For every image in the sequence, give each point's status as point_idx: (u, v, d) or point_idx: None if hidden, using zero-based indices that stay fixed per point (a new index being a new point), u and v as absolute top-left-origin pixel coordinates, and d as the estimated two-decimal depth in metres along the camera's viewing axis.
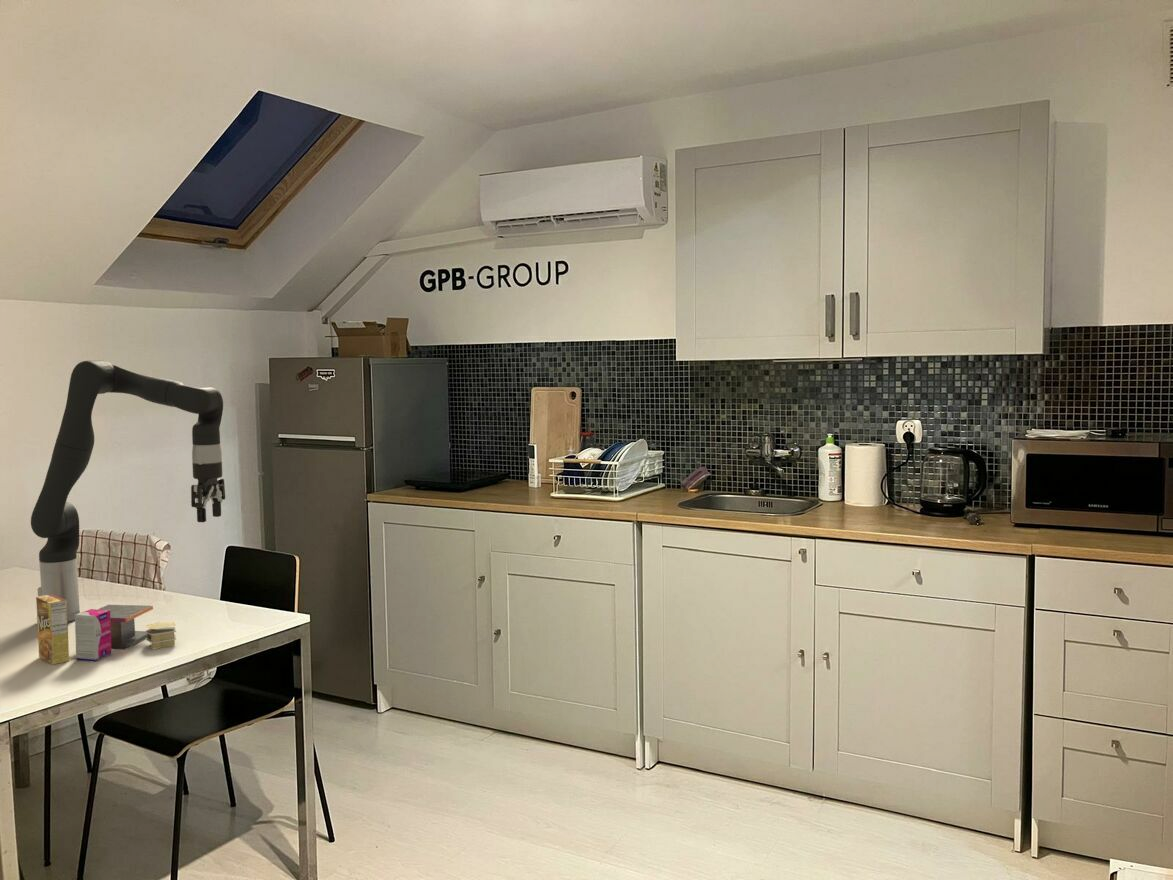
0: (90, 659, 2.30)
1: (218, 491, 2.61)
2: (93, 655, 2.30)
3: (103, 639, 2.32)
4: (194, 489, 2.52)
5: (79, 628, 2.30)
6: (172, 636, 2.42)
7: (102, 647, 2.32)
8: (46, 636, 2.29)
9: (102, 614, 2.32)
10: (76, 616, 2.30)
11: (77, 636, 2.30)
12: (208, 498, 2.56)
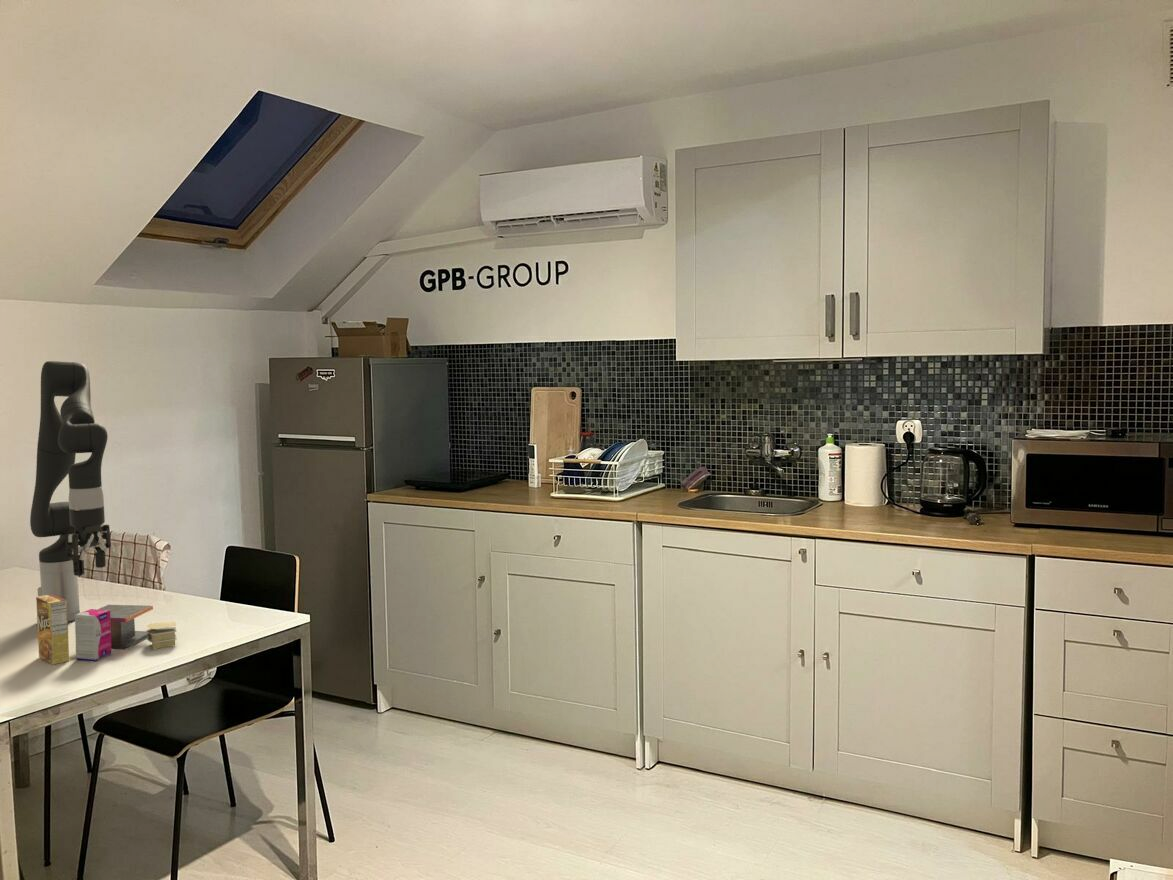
0: (90, 659, 2.30)
1: (100, 539, 2.33)
2: (93, 655, 2.30)
3: (103, 639, 2.32)
4: (69, 539, 2.24)
5: (79, 628, 2.30)
6: (173, 636, 2.42)
7: (102, 647, 2.32)
8: (46, 636, 2.29)
9: (102, 614, 2.32)
10: (76, 616, 2.30)
11: (77, 636, 2.30)
12: (86, 548, 2.27)
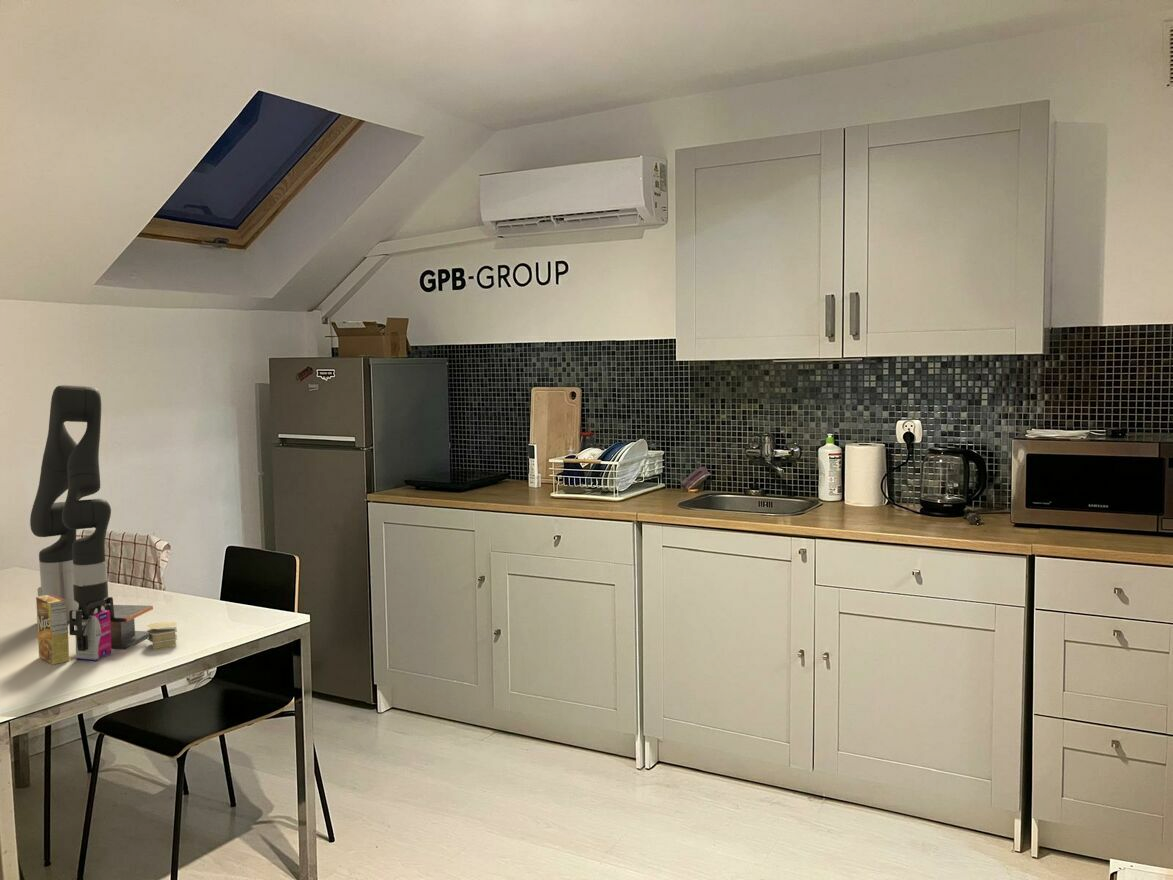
0: (90, 659, 2.30)
1: None
2: (93, 655, 2.30)
3: (103, 639, 2.32)
4: (72, 615, 2.25)
5: None
6: (173, 636, 2.42)
7: (102, 647, 2.32)
8: (46, 636, 2.29)
9: (102, 614, 2.32)
10: None
11: None
12: (90, 623, 2.29)
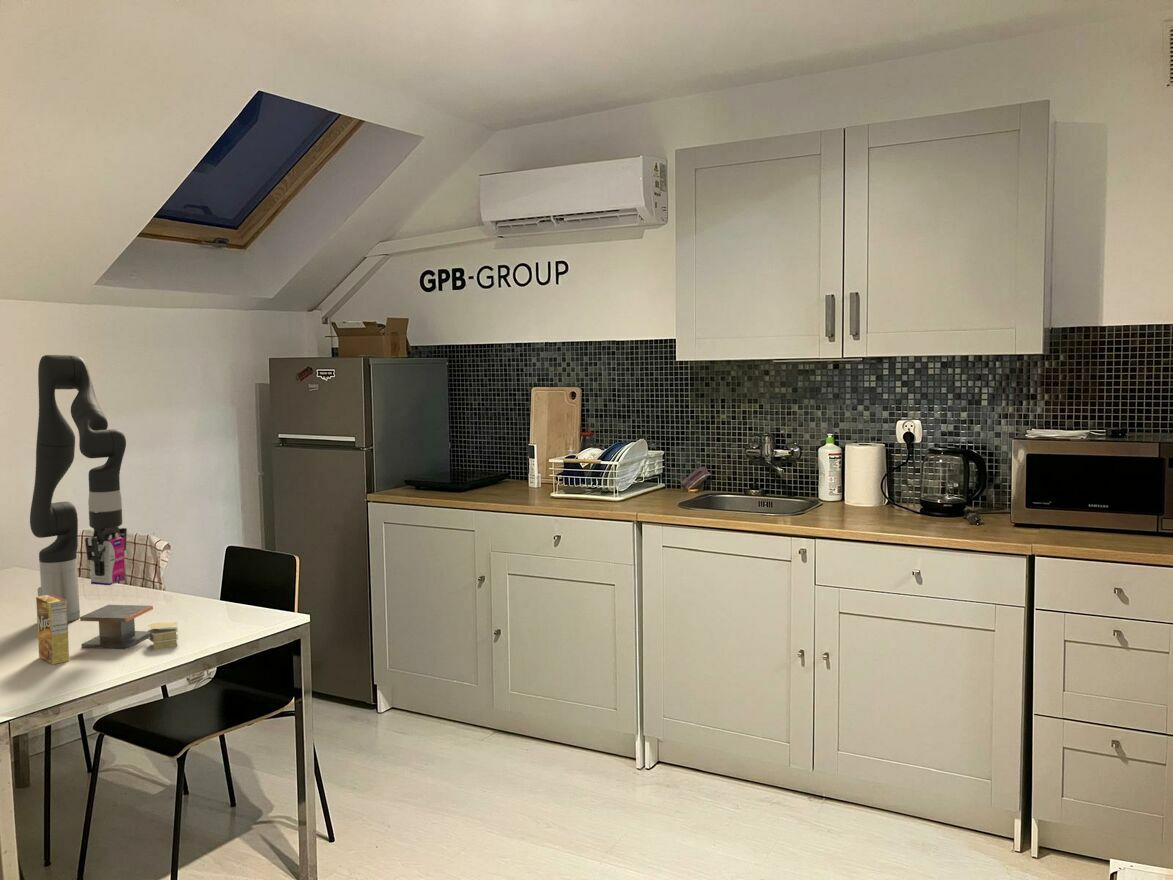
0: (104, 583, 2.39)
1: None
2: (108, 579, 2.39)
3: (117, 564, 2.41)
4: (88, 543, 2.35)
5: None
6: (174, 636, 2.42)
7: (116, 572, 2.41)
8: (46, 636, 2.29)
9: (116, 540, 2.41)
10: None
11: (92, 561, 2.40)
12: None
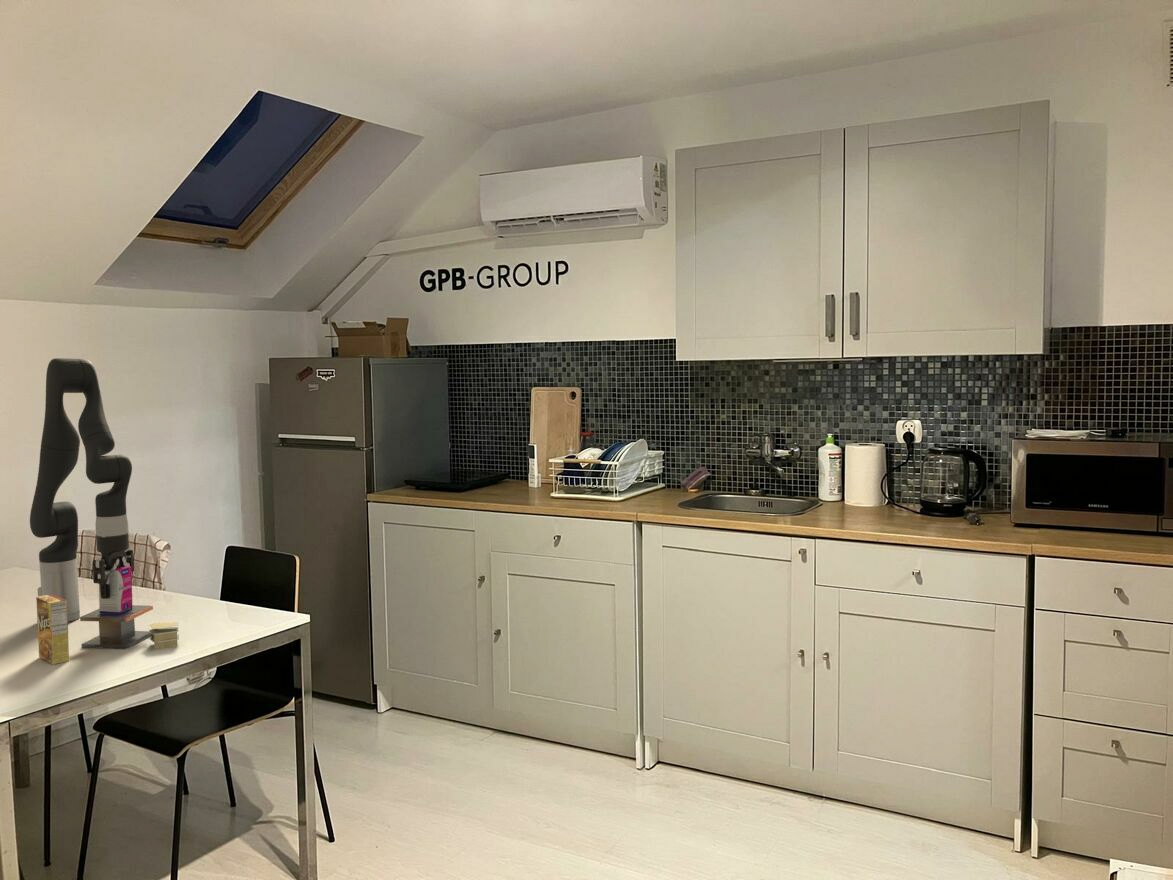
0: (113, 612, 2.43)
1: (125, 564, 2.46)
2: (116, 608, 2.42)
3: (125, 593, 2.45)
4: (96, 564, 2.37)
5: None
6: (175, 636, 2.42)
7: (124, 601, 2.45)
8: (46, 636, 2.29)
9: (124, 569, 2.44)
10: None
11: None
12: (112, 573, 2.41)
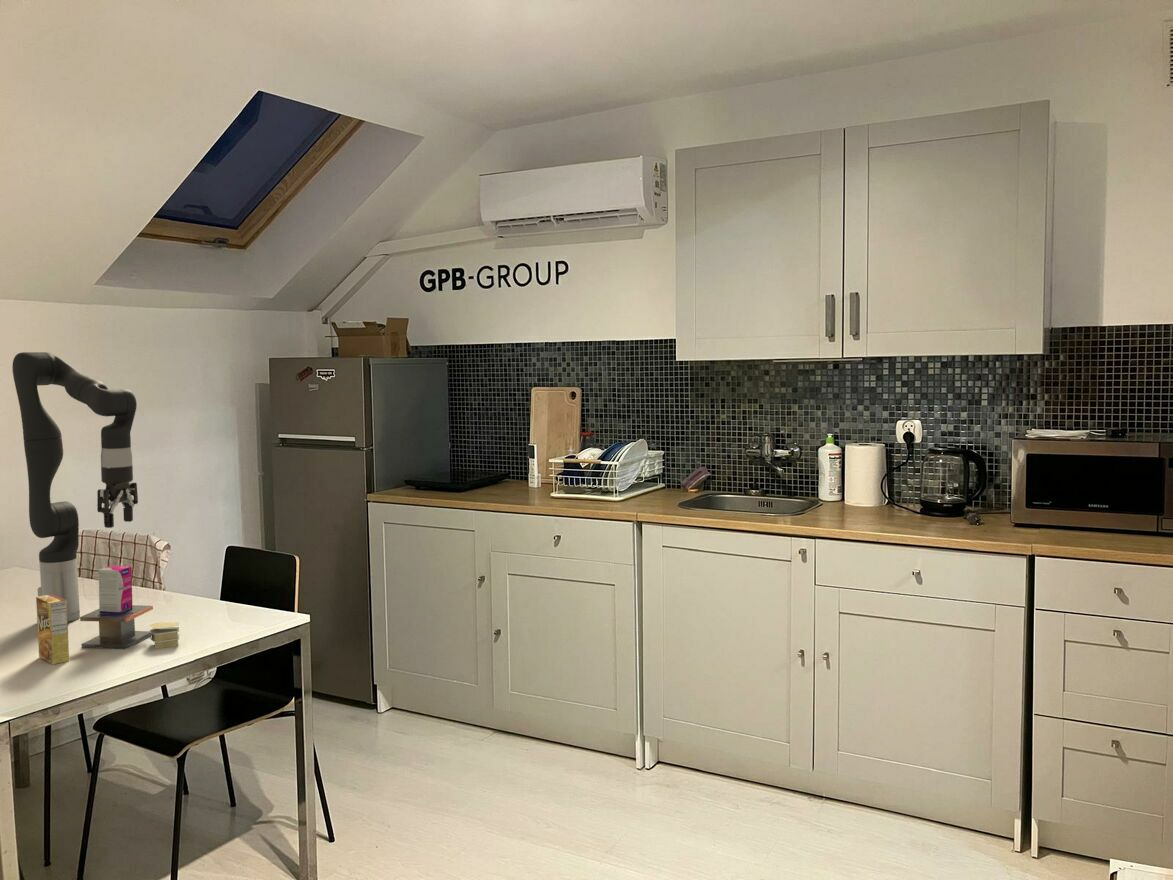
0: (113, 612, 2.43)
1: (129, 495, 2.54)
2: (116, 608, 2.42)
3: (125, 593, 2.45)
4: (100, 494, 2.45)
5: (102, 582, 2.42)
6: (175, 636, 2.42)
7: (124, 601, 2.45)
8: (46, 636, 2.29)
9: (124, 569, 2.44)
10: (100, 571, 2.42)
11: (100, 590, 2.43)
12: (116, 503, 2.49)
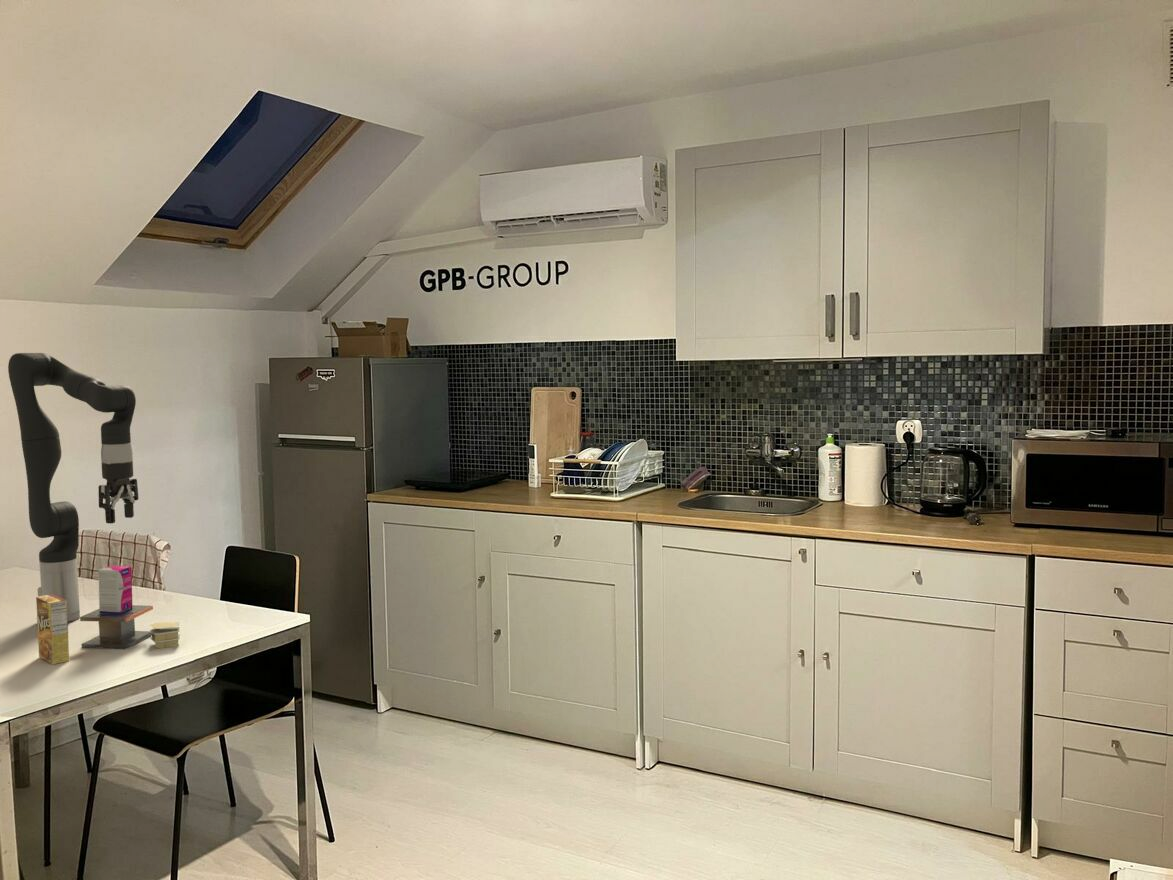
0: (113, 612, 2.43)
1: (129, 491, 2.55)
2: (116, 608, 2.42)
3: (125, 593, 2.45)
4: (101, 489, 2.46)
5: (102, 582, 2.42)
6: (176, 636, 2.42)
7: (124, 601, 2.45)
8: (46, 636, 2.29)
9: (124, 569, 2.44)
10: (100, 571, 2.42)
11: (100, 590, 2.43)
12: (117, 499, 2.50)
